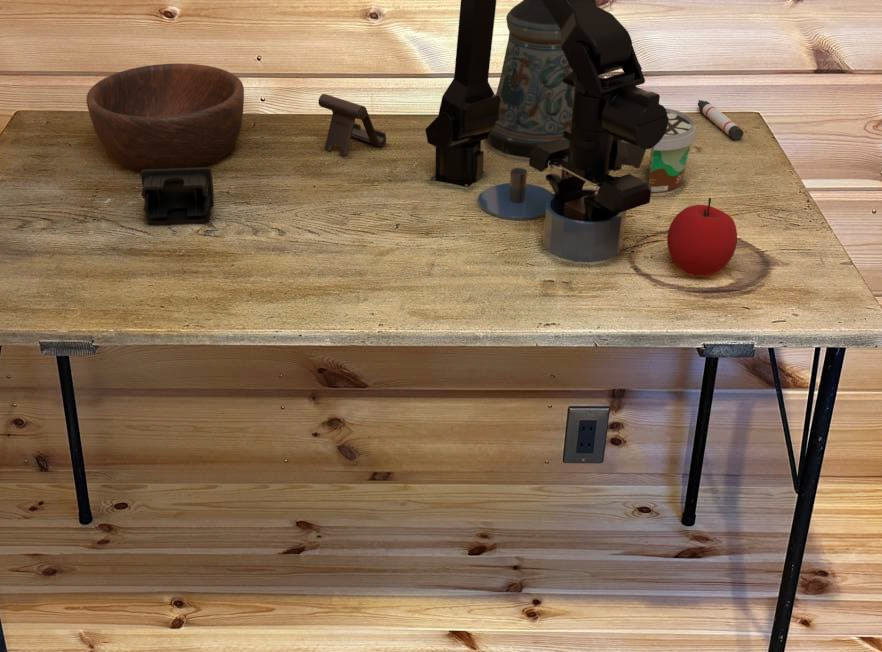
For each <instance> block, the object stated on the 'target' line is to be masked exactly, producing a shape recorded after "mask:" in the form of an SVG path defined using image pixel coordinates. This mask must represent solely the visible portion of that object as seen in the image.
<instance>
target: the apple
mask: <svg viewBox="0 0 882 652" xmlns="http://www.w3.org/2000/svg"><path fill="white" fill-rule="evenodd" d="M711 202H712V198H711V197H708V204H695V205H690V206H687V207H685V208H683V209H681V211H679V212H678V213H677V214H676V215H675V217H673V219H672V220H671V222H670V225H669V228H668V230H667V231H668V232H667V237H666V244H667V250H668V254H669V257H670V259H671V261H672V263H673V264H674V265H675V266H676V267H677V268H678V269H680V271H682V272H684V273H685V274H687V275H690V276H697V277H698V276H699V277H707V276H712V275H714V274H717V273H719V272H720V271H721V270H723V269H724V268H726V266H727V264H728V263H729V262H730V261H731V259H732V258H733V256H734V254H735V252H736V249H737V245H738V231H737V225H736V223H735V221H734V219H733V218H732V216H730V215H729V214H727V212H725V211H723V210H722V209H718V208H716V207H713V206H712V205H711Z"/></svg>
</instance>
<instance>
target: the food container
mask: <svg viewBox="0 0 882 652" xmlns="http://www.w3.org/2000/svg"><path fill="white" fill-rule="evenodd" d="M664 108H665V109H666V111H667V117H668V118H669V121H668V126H667V129H666V132H665V134H664V136H663V137H662V139H661V140H660V141H659V143H657V144H656V145H655V146H654V147H652V148H650V156H649V164H648V169H649V170H648V184H649V185H650V186H651V194H662V193H663V194H665V193H669V192H672V191H676V190H678V189H679V188H680V187H681V186H682V183H683V179H684V176H685V175H684V173H685V170H686V165H687V161H688V156H689V152H690V148H691V145H692V144H694V142H696V140H697V129H696V128H697V127H696V125H695V121H694V120H693V118H692V117H691V116H690V115H688V114H687V113H685V112H682V111H681V110H677V109H673V108H668V107H664Z"/></svg>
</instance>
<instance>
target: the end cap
mask: <svg viewBox="0 0 882 652" xmlns="http://www.w3.org/2000/svg"><path fill="white" fill-rule="evenodd" d="M140 178H141V185H142V188H141V193H140V195H141V197H142V199H143V200H144V204H143V209H142V210H143V211H144V214H145V217H146V224H147V225H148V226H169V225H170V226H172V225H194V224H195V225H197V224H207V223H209V222H210V218H211V213H212V211H211V210H212V208H213V207H214V202H215V201H214V197H215V194H214V193H215V192H214V180H213V172H212V169H211V167H209V166H204V167H197V168H171V169H145V170H142V171H140Z"/></svg>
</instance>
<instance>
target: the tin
mask: <svg viewBox="0 0 882 652" xmlns="http://www.w3.org/2000/svg"><path fill="white" fill-rule="evenodd" d="M595 191H596V188H587V187H586V188H584V187H583V188H582V195H581V197H584V196H591V195H594V194H595ZM626 217H627V211H624V212H621V213H619V212H613V211H610V213H609V214H608V216H607V218H606V220H601V221H577V220H573V219H568V218H565V217H564V212H563V210H562V208H561V205H560V203H559V201H558V199H557V197H556V195H555V193H553V194H552V195H551V196H550V197H549V198H548V199H547V200H546V205H545V216H544V219H543V221H544V222H543V232H542V233H543V234H542V243H543V244H542V245H543V247H544V248H545V250H546V251H547V252H548V253H549V254H550V255H553V256H555V257H557V258H560V259H562V260H565V261H570V262H575V263H595V262H601V261H607V260H609V259H612V258H614V257H616V256H618V254H619V253H620V251H621V250H622V249H623V243H624V242H623V241H624V233H625V227H626V225H625V224H626Z"/></svg>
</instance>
